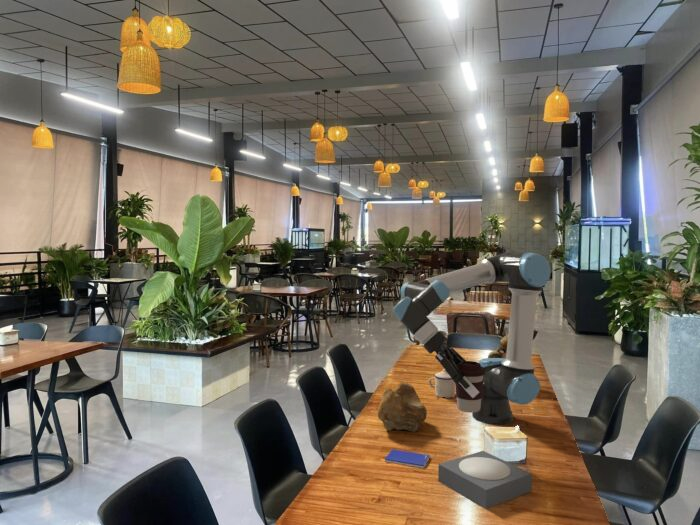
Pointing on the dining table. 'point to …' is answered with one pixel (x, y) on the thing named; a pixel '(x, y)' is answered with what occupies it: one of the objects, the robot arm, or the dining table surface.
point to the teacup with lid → (443, 384)
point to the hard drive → (407, 458)
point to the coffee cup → (475, 376)
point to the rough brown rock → (401, 408)
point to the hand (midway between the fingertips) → (478, 390)
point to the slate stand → (485, 478)
